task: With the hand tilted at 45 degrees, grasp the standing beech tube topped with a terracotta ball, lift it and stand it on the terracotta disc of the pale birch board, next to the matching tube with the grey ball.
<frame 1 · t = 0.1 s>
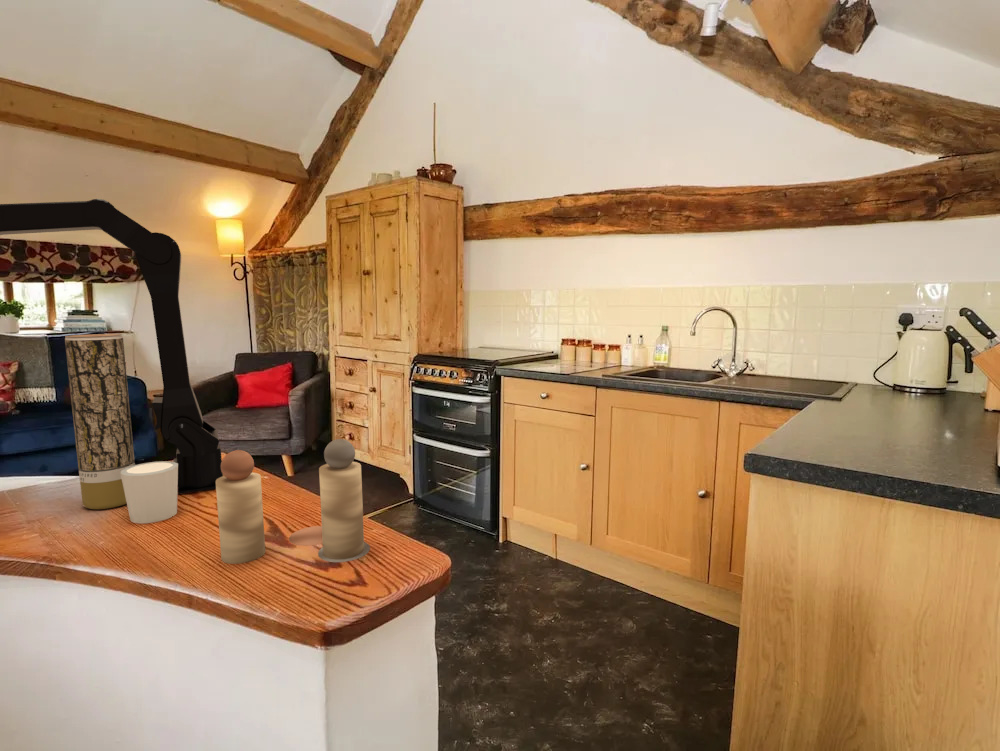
paper tube: (111, 504, 84), on the table
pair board: (327, 549, 67), on the table
grey ball tube: (343, 550, 65), resting on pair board
white tapered cylinder: (154, 517, 79), on the table
terracotta ball tube: (244, 562, 64), on the table
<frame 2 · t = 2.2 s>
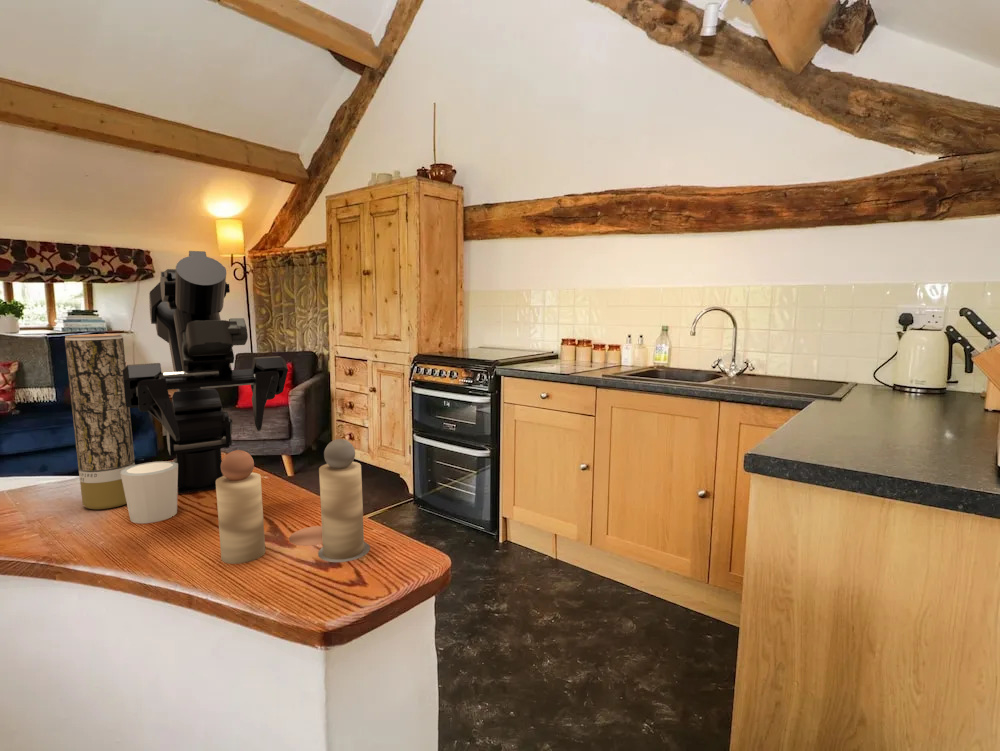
hand: (220, 433, 69), 13 cm above the table, tool tilted 45°, fingers open, 9 cm apart
nothing on the table moved.
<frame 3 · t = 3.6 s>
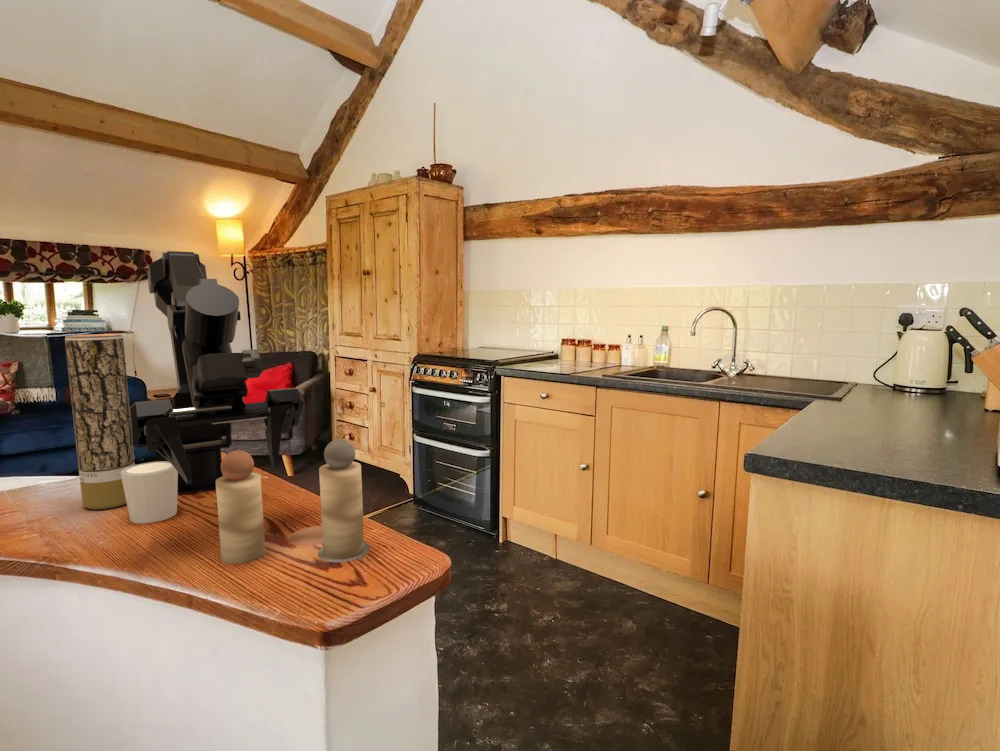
hand: (234, 474, 65), 10 cm above the table, tool tilted 45°, fingers open, 9 cm apart
nothing on the table moved.
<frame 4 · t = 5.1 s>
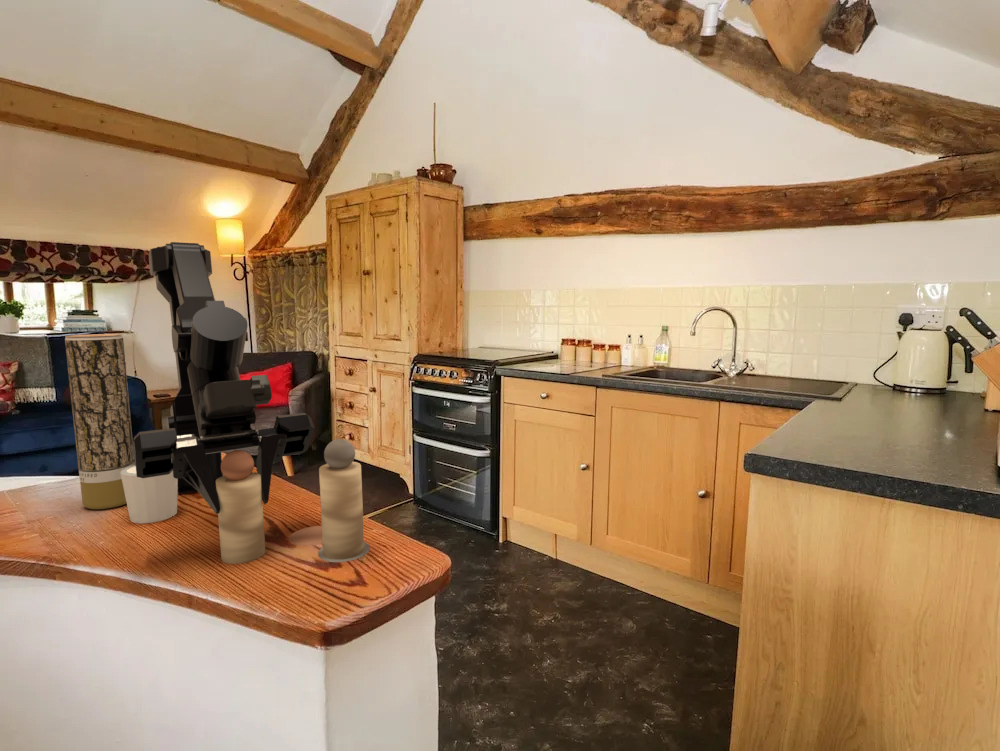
hand: (242, 506, 62), 7 cm above the table, tool tilted 45°, fingers closed on terracotta ball tube, 5 cm apart
terracotta ball tube: (244, 562, 64), on the table, touching gripper
everything else where it was.
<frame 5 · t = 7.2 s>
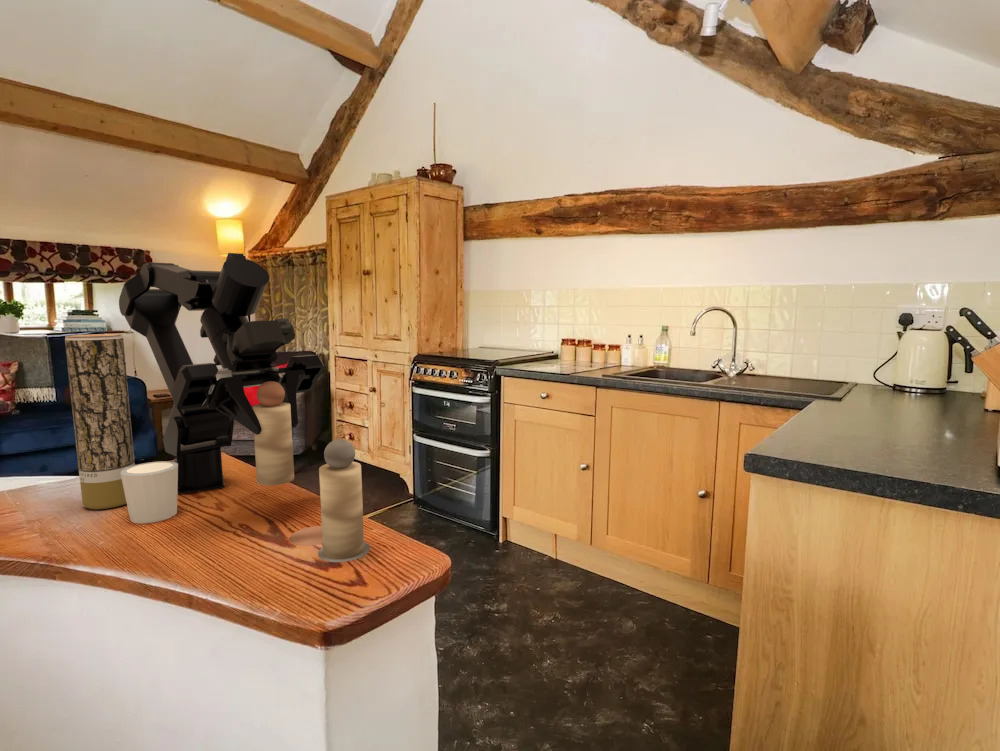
hand: (278, 429, 72), 13 cm above the table, tool tilted 45°, fingers closed on terracotta ball tube, 5 cm apart
terracotta ball tube: (275, 479, 74), point 6 cm above the table, touching gripper
everything else where it was.
when the fingers open (9 cm above the table, at t = 9.2 s): terracotta ball tube stays where it is, resting on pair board.
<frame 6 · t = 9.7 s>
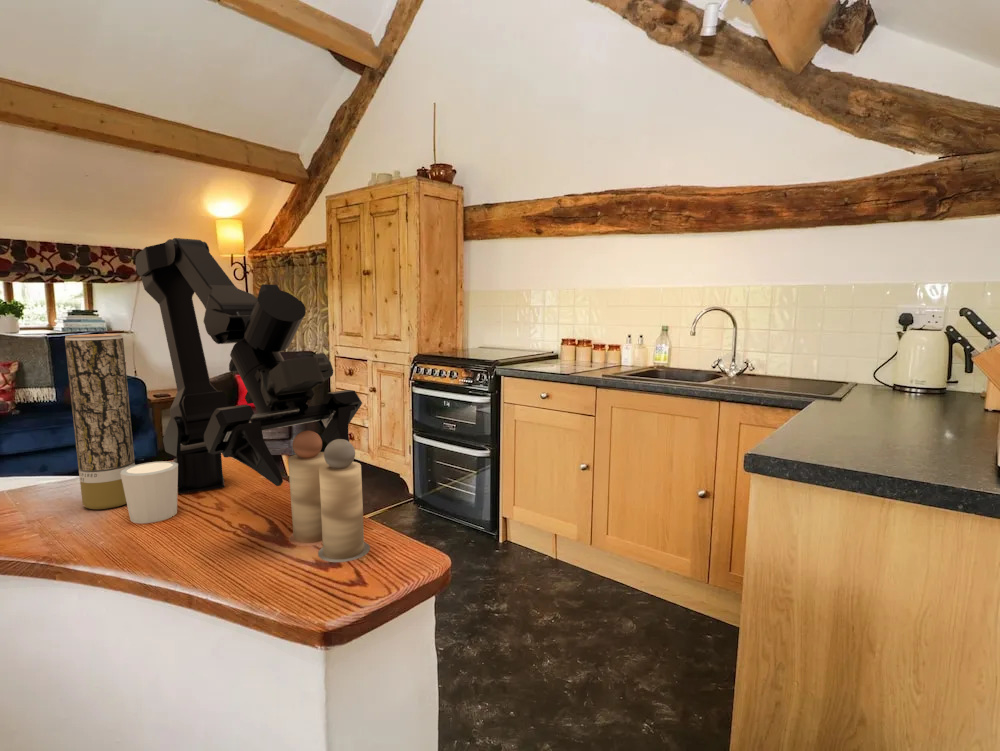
hand: (316, 474, 67), 9 cm above the table, tool tilted 45°, fingers open, 9 cm apart
terracotta ball tube: (313, 534, 69), point 1 cm above the table, touching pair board
everything else where it was.
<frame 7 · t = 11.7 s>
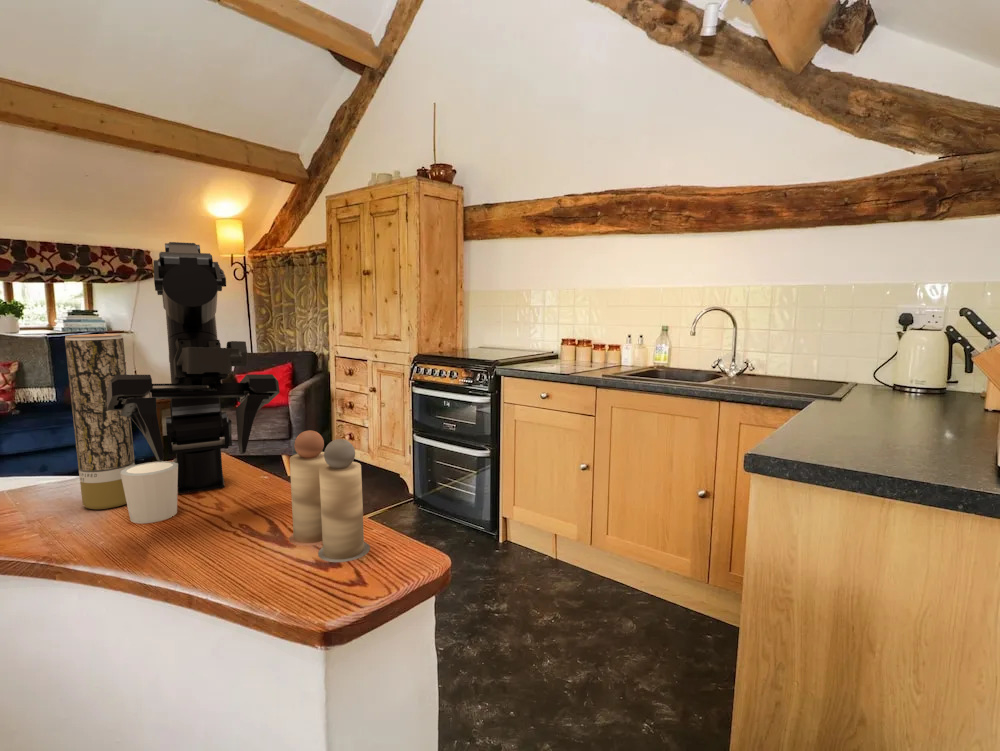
hand: (203, 457, 69), 11 cm above the table, tool tilted 25°, fingers open, 9 cm apart
nothing on the table moved.
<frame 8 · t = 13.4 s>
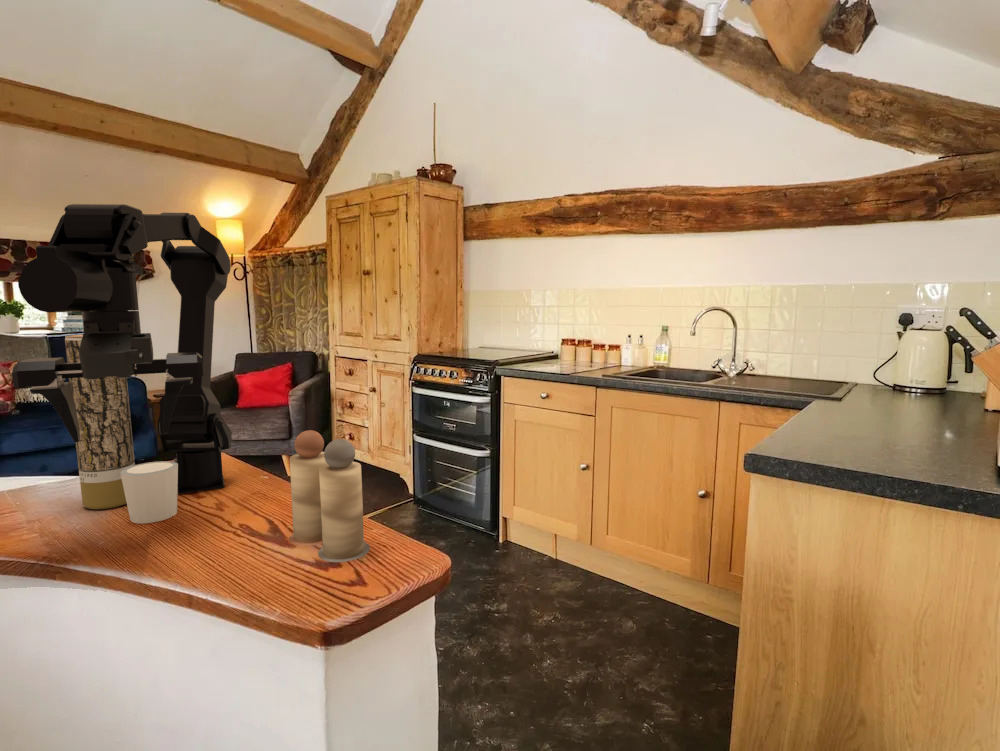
hand: (122, 437, 70), 13 cm above the table, tool pointing down, fingers open, 9 cm apart
nothing on the table moved.
at the end: terracotta ball tube 0.1 cm from the target spot, point 1.0 cm above the table; terracotta ball tube tilted 0°; the gripper is holding nothing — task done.
